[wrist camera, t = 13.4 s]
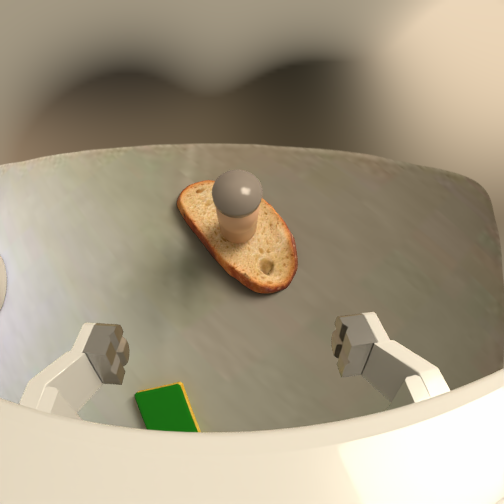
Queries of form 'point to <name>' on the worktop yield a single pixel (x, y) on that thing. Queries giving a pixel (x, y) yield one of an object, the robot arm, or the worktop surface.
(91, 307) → the worktop surface
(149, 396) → the dish sponge
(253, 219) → the grey-capped jar
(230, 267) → the slice of bread
